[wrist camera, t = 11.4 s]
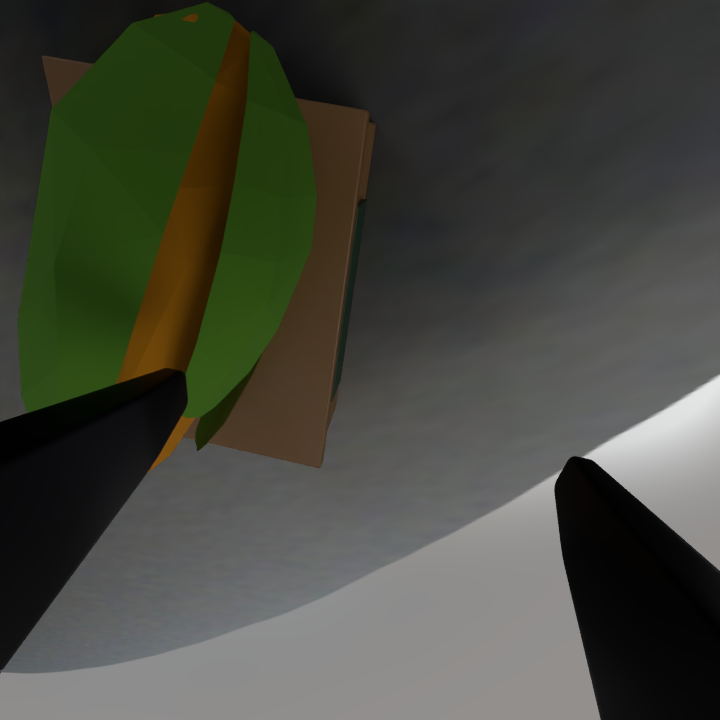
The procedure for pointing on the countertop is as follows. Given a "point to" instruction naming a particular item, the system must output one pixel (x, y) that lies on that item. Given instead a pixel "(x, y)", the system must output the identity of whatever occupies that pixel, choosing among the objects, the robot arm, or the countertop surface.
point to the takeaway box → (298, 292)
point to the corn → (167, 218)
